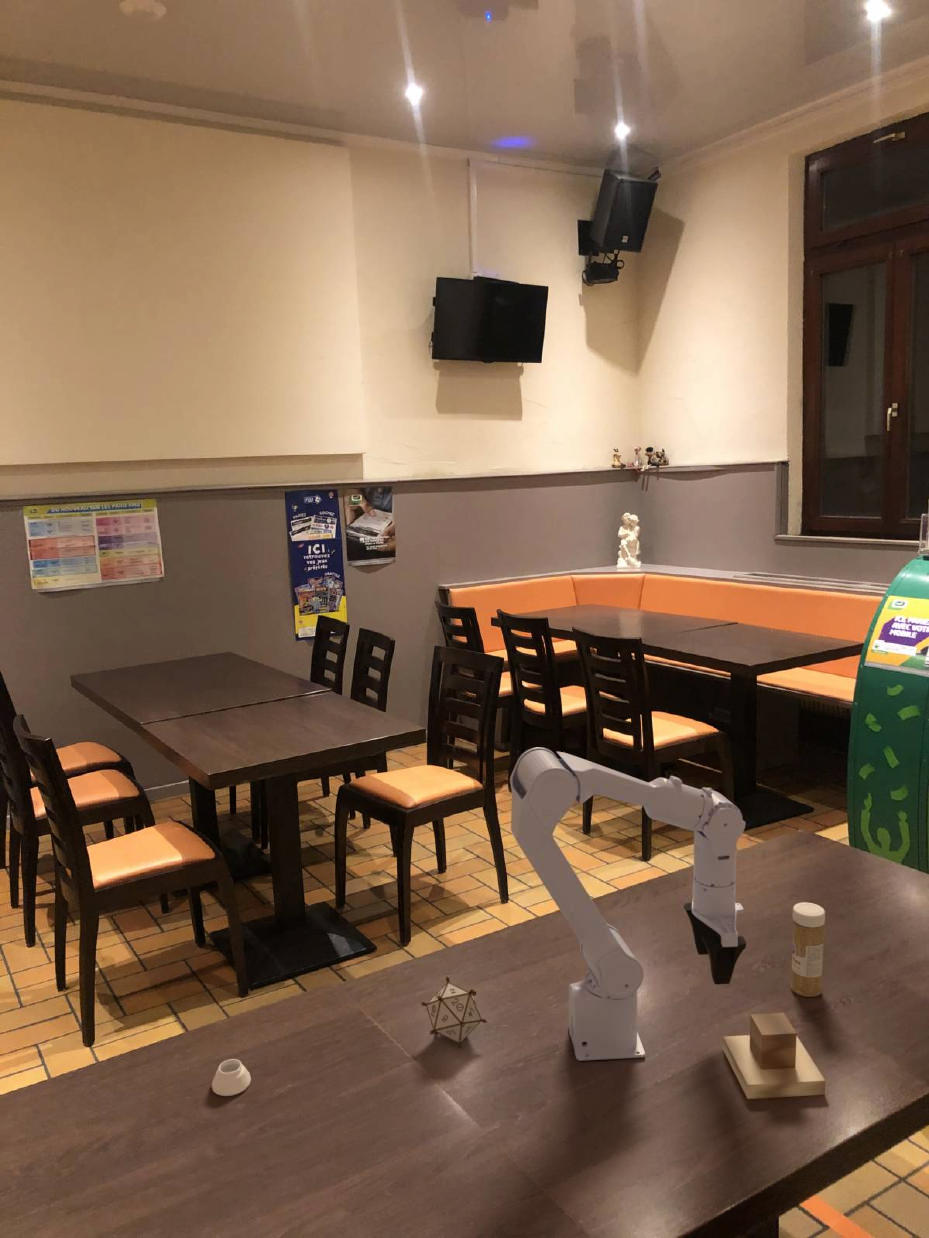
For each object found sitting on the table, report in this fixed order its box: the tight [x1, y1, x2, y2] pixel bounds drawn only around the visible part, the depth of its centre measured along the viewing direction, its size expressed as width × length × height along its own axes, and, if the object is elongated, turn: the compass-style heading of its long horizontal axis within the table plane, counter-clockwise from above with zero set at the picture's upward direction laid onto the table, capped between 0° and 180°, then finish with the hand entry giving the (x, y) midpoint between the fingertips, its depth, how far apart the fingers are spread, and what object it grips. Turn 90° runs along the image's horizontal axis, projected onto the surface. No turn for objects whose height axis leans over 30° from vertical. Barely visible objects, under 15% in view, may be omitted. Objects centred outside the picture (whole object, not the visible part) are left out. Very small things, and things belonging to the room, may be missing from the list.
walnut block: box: [749, 1012, 798, 1070], centre depth 123 cm, size 4×4×5 cm
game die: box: [420, 975, 488, 1051], centre depth 132 cm, size 9×8×10 cm
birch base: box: [722, 1034, 826, 1100], centre depth 123 cm, size 10×10×2 cm
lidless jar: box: [211, 1058, 252, 1097], centre depth 124 cm, size 5×3×5 cm
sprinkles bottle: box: [790, 901, 826, 998], centre depth 140 cm, size 5×5×13 cm
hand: (713, 967), depth 132 cm, fingers open, 7 cm apart
